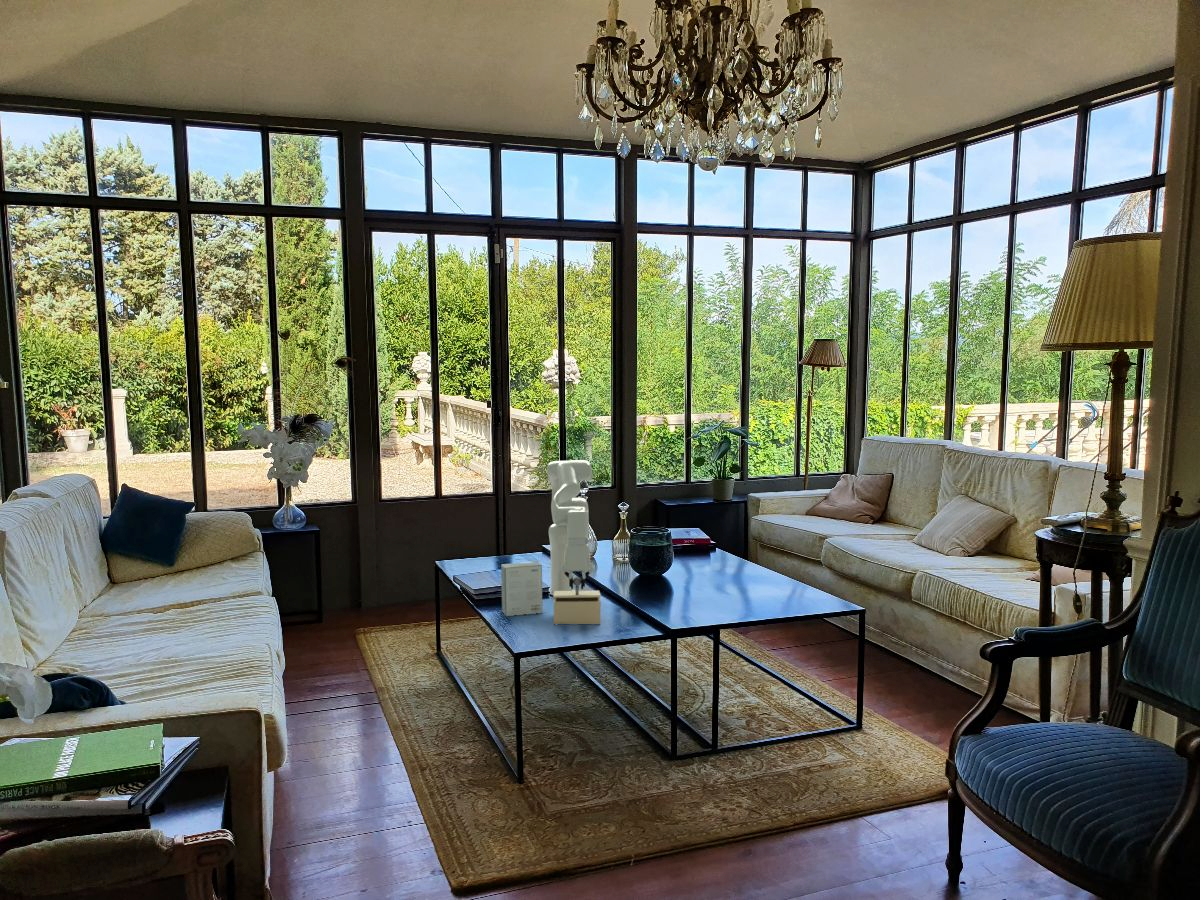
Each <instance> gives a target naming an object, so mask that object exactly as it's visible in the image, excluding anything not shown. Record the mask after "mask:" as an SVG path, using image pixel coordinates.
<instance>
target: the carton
mask: <svg viewBox="0 0 1200 900" xmlns="http://www.w3.org/2000/svg"><path fill="white" fill-rule="evenodd" d="M601 607H602V606H601V597H573V598H554V597H553V625H554V624H602V623H601V620H602V619H601V611H602V609H601Z"/></svg>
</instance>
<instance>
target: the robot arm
mask: <svg viewBox="0 0 1200 900" xmlns="http://www.w3.org/2000/svg"><path fill="white" fill-rule="evenodd" d="M546 465H547V466H546V475H547V478H548V481H549V483H550V486H551V502H550V503H551V504H550V511H551V517H552V518H551V519H552V522H553V523H552V524H550V526H549V527H548V537H549V538H548V539H549V547H550V589H551V591H550V594H552V595H554V591H576V589H574V583H573V579H574V578H573V572H581V575H582V576H581V577H580V579H581V584H580V589H581V590H584V587H585V586H586V578H587V577H588V576H589V575H591V574H593V573H594V572H595V569H594V567H593V565H592V563H591V551H590V545H589V544H588V543H591V538H590V537H589V534H590V533H589V532H590V531H589V528H590V527H589V525H590V524H589V522H590V521H589V517H590V516H589V514H590V512H589V504H588V501H587V499H585V498H584V497H577V496H578V495H579V494H580V492H581V483H580V481H586V482H587V481H590V480H591V478H592V475H593V470H592V466H591V463H590V461H588V460H585V459H584V460H583V459H582V460H578V459H577V460H554V461H550V462H549V463H547V464H546Z"/></svg>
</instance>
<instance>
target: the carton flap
mask: <svg viewBox="0 0 1200 900" xmlns="http://www.w3.org/2000/svg"><path fill="white" fill-rule="evenodd" d="M573 586H575V591H554V596H553V599H554V598H573V597H600V598H601V592H600V590H580V589H579V588H580V587H579V586H581V577H578V576H576V577H574V578H573Z"/></svg>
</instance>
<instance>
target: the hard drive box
mask: <svg viewBox="0 0 1200 900" xmlns="http://www.w3.org/2000/svg"><path fill="white" fill-rule="evenodd" d="M500 567H501V568H500V569H501V570H500V573H501V575H500V577H501V609H502V610H501V612H502V613H504V614H503V615H504V616H505V617H515V616H514V615H517V616H524V614H526V615H537V614H536V613H538V614H543V613H542V612H544V611H543V565H542V564H541V563H540V562H539V561H526V562H525V561H524V562H515V563H504V564H503V563H502V564H501V565H500Z"/></svg>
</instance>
